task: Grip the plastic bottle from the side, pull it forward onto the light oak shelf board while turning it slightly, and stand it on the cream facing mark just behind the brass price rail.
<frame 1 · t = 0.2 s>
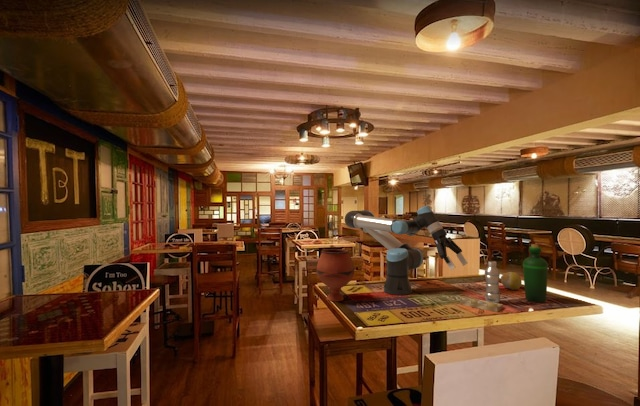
hand: (459, 266, 163), 16 cm above the table, tool tilted 35°, fingers open, 13 cm apart
fruit: (510, 289, 179), on the table
goblet: (335, 299, 160), on the table
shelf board: (481, 306, 148), on the table
plastic bottle: (492, 303, 154), on the table
bottle: (535, 301, 157), on the table
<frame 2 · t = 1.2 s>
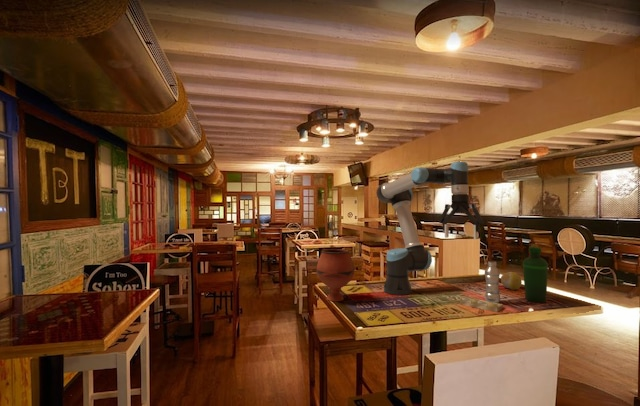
hand: (460, 238, 151), 32 cm above the table, tool pointing down, fingers open, 13 cm apart
nothing on the table moved.
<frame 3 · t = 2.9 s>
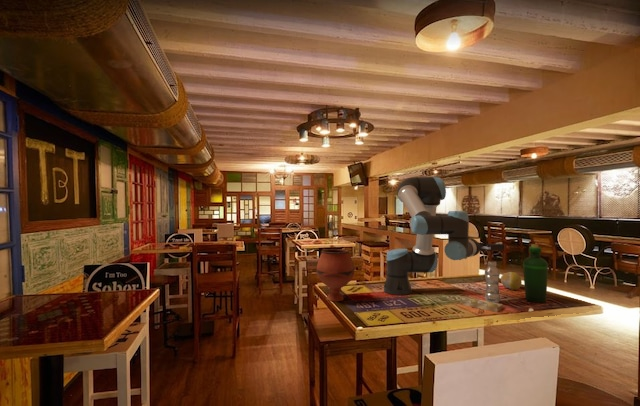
hand: (485, 244, 147), 29 cm above the table, tool horizontal, fingers open, 13 cm apart
nothing on the table moved.
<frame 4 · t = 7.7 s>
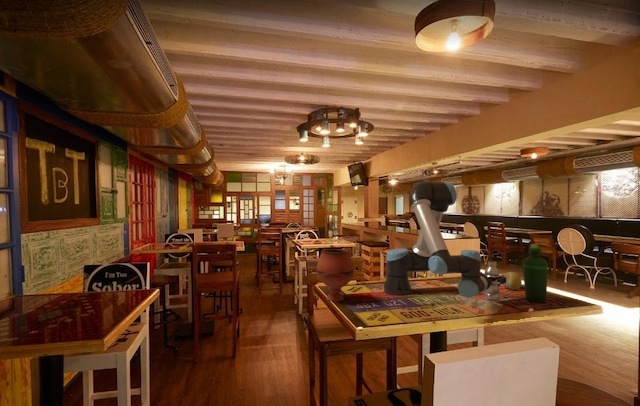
hand: (495, 275, 157), 13 cm above the table, tool horizontal, fingers closed on plastic bottle, 6 cm apart
plastic bottle: (492, 303, 154), on the table, touching gripper
everything else where it was.
when the fingers open (15 cm above the table, at t = 10.8 s): plastic bottle stays where it is, resting on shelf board.
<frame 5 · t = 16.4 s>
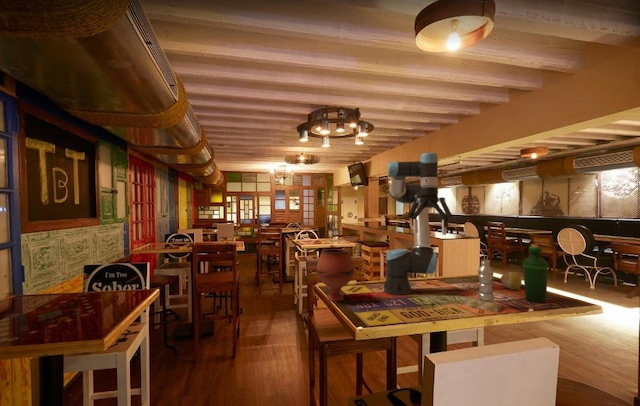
hand: (429, 233, 143), 35 cm above the table, tool pointing down, fingers open, 13 cm apart
plastic bottle: (486, 303, 147), point 2 cm above the table, touching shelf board
everything else where it was.
at the end: plastic bottle inside the target area (0.3 cm from its centre), point 1.5 cm above the table; plastic bottle tilted 0°; the gripper is holding nothing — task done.
